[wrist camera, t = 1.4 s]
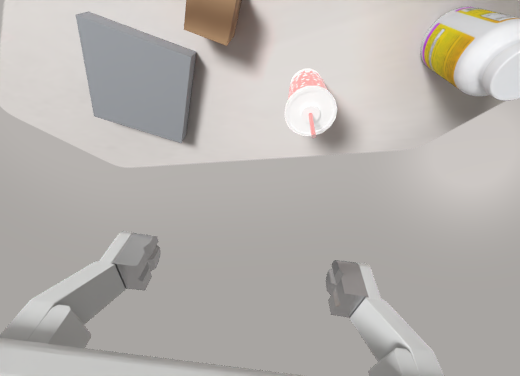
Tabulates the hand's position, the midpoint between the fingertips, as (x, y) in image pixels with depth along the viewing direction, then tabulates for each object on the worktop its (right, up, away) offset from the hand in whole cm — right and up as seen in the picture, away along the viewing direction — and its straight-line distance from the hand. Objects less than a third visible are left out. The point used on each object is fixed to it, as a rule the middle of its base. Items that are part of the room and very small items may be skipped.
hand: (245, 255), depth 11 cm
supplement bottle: (+24, +22, +19) cm, 37 cm away
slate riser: (-17, +19, +25) cm, 36 cm away
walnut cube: (-4, +25, +18) cm, 32 cm away
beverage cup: (+7, +18, +24) cm, 31 cm away
